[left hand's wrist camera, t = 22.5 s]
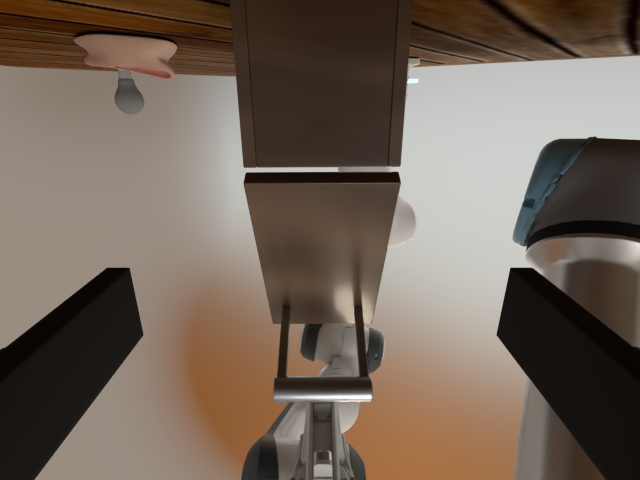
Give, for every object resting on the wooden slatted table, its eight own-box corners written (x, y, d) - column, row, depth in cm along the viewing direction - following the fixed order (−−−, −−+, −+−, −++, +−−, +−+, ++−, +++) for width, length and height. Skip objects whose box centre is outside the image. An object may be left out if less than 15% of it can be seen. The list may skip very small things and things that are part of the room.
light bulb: (132, 65, 78) (141, 114, 82) (142, 67, 84) (149, 113, 88) (103, 65, 78) (113, 115, 81) (114, 67, 83) (123, 113, 87)
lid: (371, 313, 35) (381, 413, 29) (273, 314, 35) (264, 413, 29) (398, 171, 22) (427, 296, 16) (245, 171, 22) (218, 297, 16)
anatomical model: (72, 73, 39) (186, 75, 43) (62, 31, 37) (181, 37, 41) (91, 79, 50) (179, 80, 54) (84, 46, 48) (175, 50, 53)
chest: (373, 17, 33) (368, 137, 36) (269, 18, 33) (275, 138, 36) (417, -49, 18) (400, 167, 22) (225, -48, 18) (243, 167, 22)
